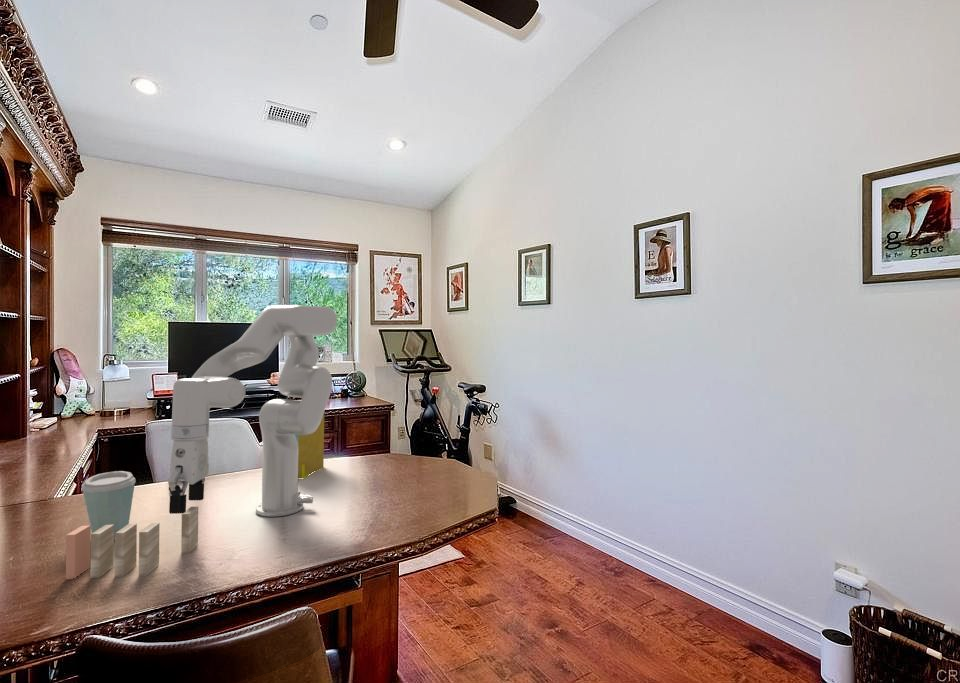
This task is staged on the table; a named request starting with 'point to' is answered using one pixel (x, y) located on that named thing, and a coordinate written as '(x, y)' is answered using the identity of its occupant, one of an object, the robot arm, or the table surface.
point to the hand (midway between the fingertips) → (187, 506)
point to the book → (311, 451)
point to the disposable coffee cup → (109, 499)
